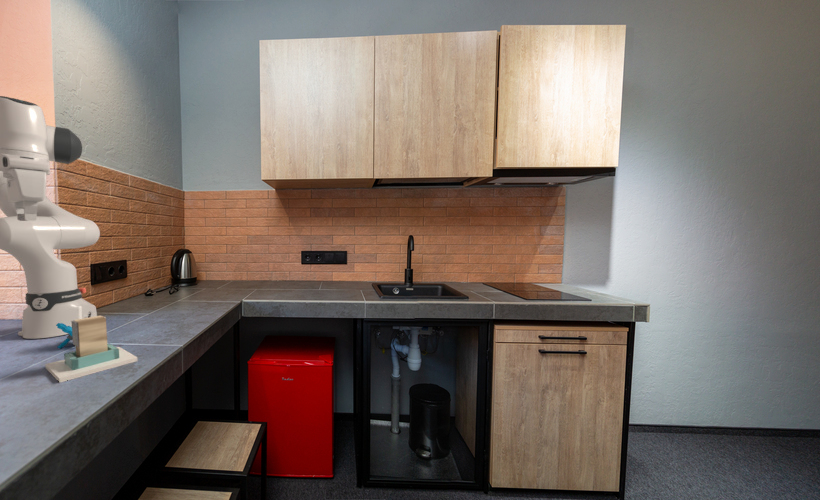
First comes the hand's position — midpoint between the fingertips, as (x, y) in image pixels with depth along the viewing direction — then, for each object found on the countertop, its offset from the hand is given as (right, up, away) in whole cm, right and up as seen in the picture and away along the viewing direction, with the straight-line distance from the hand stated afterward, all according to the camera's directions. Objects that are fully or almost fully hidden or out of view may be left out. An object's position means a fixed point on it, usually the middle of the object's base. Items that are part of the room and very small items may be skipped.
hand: (26, 220), depth 78 cm
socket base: (+15, -37, +2) cm, 40 cm away
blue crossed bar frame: (-4, -36, +15) cm, 40 cm away
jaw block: (+15, -36, +2) cm, 39 cm away
